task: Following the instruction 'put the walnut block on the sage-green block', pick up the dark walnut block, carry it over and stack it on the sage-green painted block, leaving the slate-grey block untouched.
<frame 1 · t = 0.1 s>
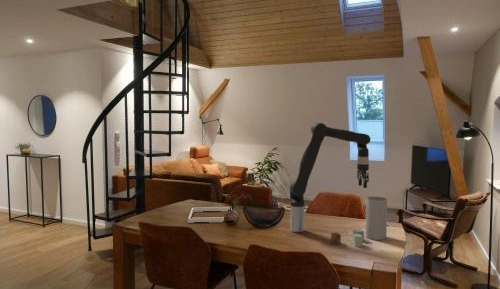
hand: (362, 186, 243), 29 cm above the table, fingers open, 8 cm apart
grey block: (358, 239, 222), on the table
cylinder vase: (375, 237, 227), on the table
white square frame: (211, 216, 277), on the table
walnut block: (335, 243, 216), on the table
sage block: (357, 245, 213), on the table
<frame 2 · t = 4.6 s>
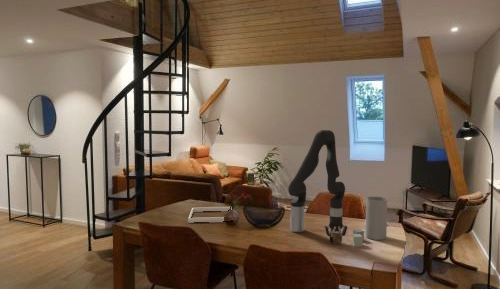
hand: (335, 242, 216), 1 cm above the table, fingers closed on walnut block, 4 cm apart
walnut block: (335, 243, 216), on the table, touching gripper
everything else where it was.
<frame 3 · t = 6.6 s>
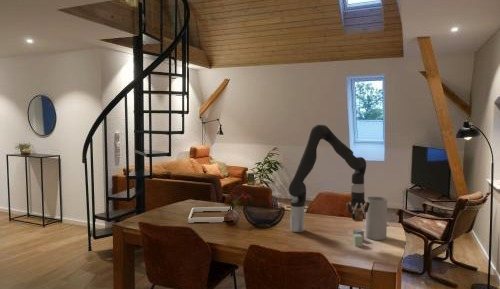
hand: (357, 219, 211), 16 cm above the table, fingers closed on walnut block, 4 cm apart
walnut block: (357, 220, 211), point 15 cm above the table, touching gripper
everything else where it was.
when the fingers open (8 cm above the table, at t = 8.8 s): walnut block drops 1 cm, resting on sage block.
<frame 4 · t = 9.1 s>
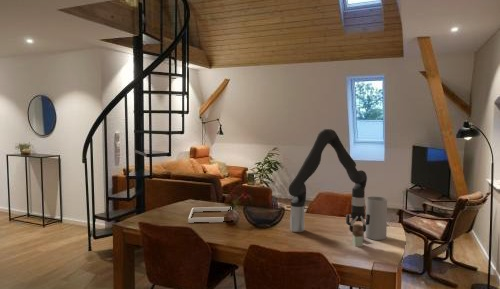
hand: (357, 231, 212), 8 cm above the table, fingers open, 7 cm apart
walnut block: (357, 235, 212), point 6 cm above the table, touching sage block
sage block: (357, 245, 213), on the table, touching walnut block
everything else where it was.
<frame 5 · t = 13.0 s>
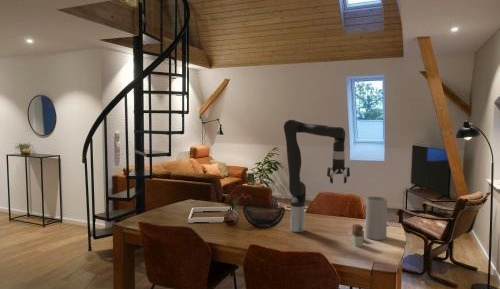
hand: (338, 183, 229), 34 cm above the table, fingers open, 8 cm apart
nothing on the table moved.
at the end: walnut block 0.1 cm off-centre on the sage block, point 6.0 cm above the sage block's base; grey block moved 0.1 cm from its start; sage block moved 0.0 cm from its start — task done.
